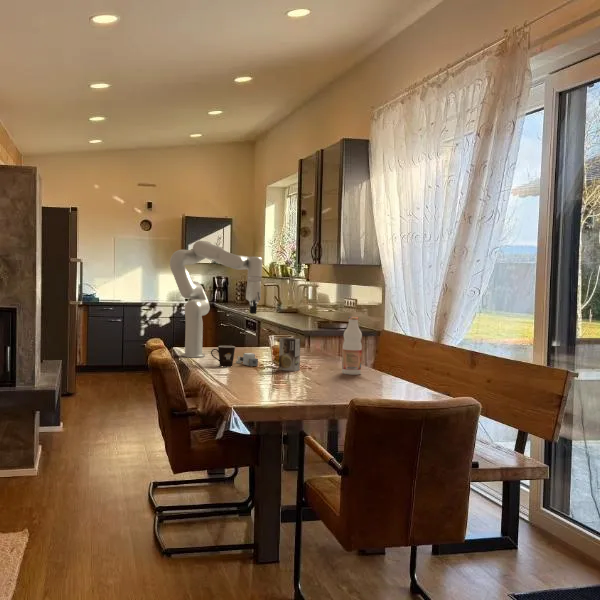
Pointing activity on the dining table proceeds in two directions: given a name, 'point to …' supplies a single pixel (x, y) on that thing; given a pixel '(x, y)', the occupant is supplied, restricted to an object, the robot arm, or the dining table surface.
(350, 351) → the fruit juice
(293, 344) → the coffee box
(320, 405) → the dining table surface
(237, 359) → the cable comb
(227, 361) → the coffee mug
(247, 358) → the white cube on rod
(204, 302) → the robot arm
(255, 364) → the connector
